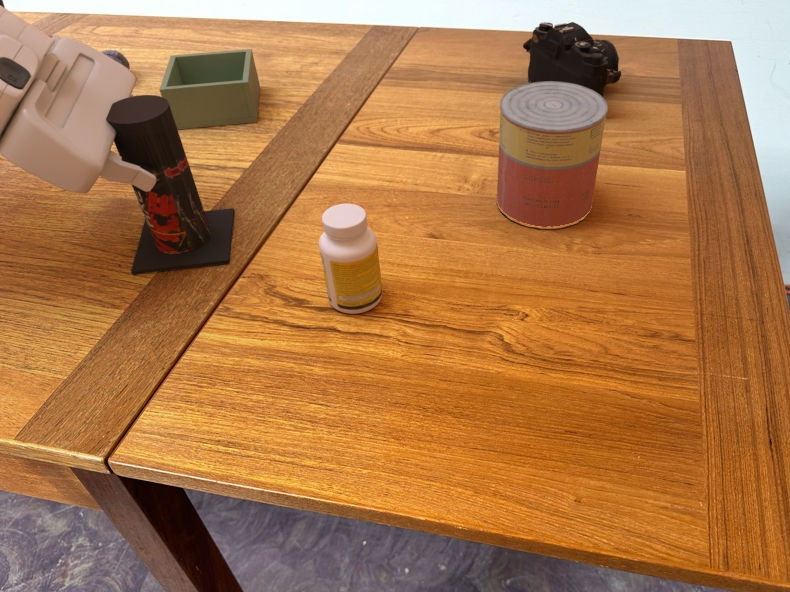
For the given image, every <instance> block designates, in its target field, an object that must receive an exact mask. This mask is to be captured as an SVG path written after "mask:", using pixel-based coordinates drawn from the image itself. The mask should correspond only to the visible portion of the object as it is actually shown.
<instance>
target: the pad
mask: <svg viewBox="0 0 790 592" xmlns="http://www.w3.org/2000/svg"><path fill="white" fill-rule="evenodd" d="M204 212H205V215H206V218H207V221H208V224H209V227H210V230H211V237H210V239H209V241H208V242H207V243H206V244H205V245H204V246H202V247H201V248H199V249H197V250H195V251H192V252H189V253H185V254H178V255H177V254H167V253H164V252H162V251H160V250H159V249H158V248H157V246H156V244H155V241H154V239H153V236H152V234H151V232H150V229H149V227H148V224H147V222H146V219H145V218H144V222H143V225H142V228H141V234H140V235H139V239H138V244H137V247H136V251H135V254H134V257H133V262H132V264H131V265H132V266H131V269H130V273H131V275H133V276H134V275H142V274H151V273H159V272H168V271H177V270H186V269H194V268H203V267H213V266H220V265H228V264H230V260H231V259H230V258H231V250H232V239H233V233H234V232H233V231H234V223H235V215H236V213H235V212H236V211H235V208H234V207H231V208H221V209H213V210H212V209H211V210H204Z"/></svg>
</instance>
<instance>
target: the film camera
mask: <svg viewBox="0 0 790 592" xmlns="http://www.w3.org/2000/svg"><path fill="white" fill-rule="evenodd" d="M522 47H523V49H524V50H525V52H526V53H529V63H528V66H527V67H528V68H527V81H528V82H529V83H534V82H544V81H555V82H566V83H572V84H577V85H580V86H584V87H586V88H589V89H591V90H593V91H595V92H597V93H598V94H600V95H601V96H602V97H603V98H604V89H605V87H606V86H607V85H610V84H612V85H613V84H616V83H618V82H619V81H620V80H621V77H622V71H621V70H619V63H620V62H619V61H620V57H619V55H618V51H617V49H616V46H615V45H614V44H613V42H611V41H610V40H608V39H597V38H595V39H594V38H593V37H592V35H590V34H589V33H588V31H587V30H586V29H585V28H584V27H583V26H581V25H580V24H578V23H576V22H574V21H571V22H568V23H566V22H565V23H564V22H563V23H558V24H553V23H552V22H540V23H539V25H538V26H536V27H535V28H534V29H533V30H532V37H530V38H529V39H527V40H526V41H524V43H523V44H522Z"/></svg>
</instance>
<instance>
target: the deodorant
mask: <svg viewBox="0 0 790 592" xmlns="http://www.w3.org/2000/svg"><path fill="white" fill-rule="evenodd" d="M106 120H107V121H108V123H109V124H110V125H111V126H112V127H113V128H114V130H115V131H116V137H115V139H114V142H113V144H114V145H115V148H116V150H117V154H118V155H119V156H121V157H122V159H121V161H124V162H127V163H131V164H134V165H137V166H140V164H141V163H143V164H145V165H147V166H149V167H150V168H151V169H154V170H156V172H157V173H158V175H157V181H156V184H155V185H154V186H153V188H152V189H151V190H150V191H148V192H146V191H143V190H141V189H140V188H138V187H136V186H134V185H132V184H130V185H131V188H132V190H133V191H134V194H135V197H136V200H137V202H138V204H139V207H140V209H141V212H142V215H143V216H144V220H145V219H146V222H147V224H148V227H149V229H150V232H151V234H152V236H153V239H154V241H155V244H156V246H157V248H158V249H159V250H160V251H162V252H164V253H167V254H177V255H178V254H185V253H189V252H192V251H195V250H197V249H199V248H201V247H202V246H204V245H205V244H206V243H207V242H208V241H209V239H210V237H211V230H210V227H209V224H208V221H207V218H206V215H205V212H204V211H205V209H204V206H203V203H202V200H201V197H200V194H199V191H198V188H197V185H196V182H195V178H194V176H193V173H192V170H191V169H192V168H191V167H190V164H189V160H188V158H187V154H186V151H185V148H184V145H183V142H182V138H181V136H180V133H179V129H178V130H177V127H176V124H175V120H174V117H173V114H172V111H171V108H170V105H169V103H168V101H167V100H166V99H165V98H163V97H162V96H161V95H153V94H140V95H133V97H128V98H125V99H122V100H119V101H117V102H115V103H113V104H112V106H111V108H110V110H109V113H108V115H107V118H106Z"/></svg>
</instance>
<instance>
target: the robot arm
mask: <svg viewBox="0 0 790 592" xmlns="http://www.w3.org/2000/svg"><path fill="white" fill-rule="evenodd" d="M101 52H102V51H99V50H98V49H96V48H94V47H92V46H90V45H88V43H85V42H83V41H81V40H78V39H77V38H74V37H69V36H64V37H61V36H59V35H58V34H54V35H52V34H46V33H45V32H43V31H42V30H40V29H38V28H37V27H36V26H34V25H32V24H30V23H29V22H27V21H26V20H24V19H23V18H21V17H20V16H18V15H17V14H15V13H13V12H12V11H10V10H9V9H7V8H6V7H5V3H4V0H0V154H1V155H2V157H3V158H4V159H6V160H7V161H8V162H10V163H11V164H13V165H14V166H16V167H18V168H19V169H21V170H24V171H25V172H27V173H28V174H30V175H33V176H35V177H36V178H39V179H40V180H42V181H44V182H46V183H49V184H50V185H53V186H55V187H57V188H59V189H61V190H64V191H65V192H69V193H74V194H87V193H89V192H90V191H91V189H92V188H93V186H94V185H95V184H96V182H97V180H98V179H99V178H100V177H101V178H102V179H105V180H107V181H109V182H114V183H120V184H127V185H131V184H132V185H134V186H136V187H138V188H140V189H141V190H143V191H146V192H148V191H150V190H151V189H152V188H153V186H154V185H155V184H156V181H157V175H158V173H157V172H156V170H154V169H151V168H150V167H149V166H147V165H145V164H143V163H141V164H140V166H137V165H134V164H131V163H127V162H124V161H122V160H121V159H122V157H121V156H120V155H119V153H116V152H114V151H112V147H113V145H114V139H115V137H116V131H115V130H114V128H113V127H112V126H111V125H110V124H109V123H108V121H107V120H106V118H107V115H108V113H109V110H110V108H111V106H112V104H113V103H115V102H117V101H119V100H122V99H125V98H128V97H133V96H134V95H133V94H132V93H133V92H134V89H135V85H136V83H137V77H136V76H135V74H133V72H131V70H130V69H127V68H126V67H125V66H123V65H122V64H120V63H118V62H117V61H115V60H113V59H112V58H110V57H108V56H106V55H105V54H103V53H101ZM132 185H131V186H132Z"/></svg>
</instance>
